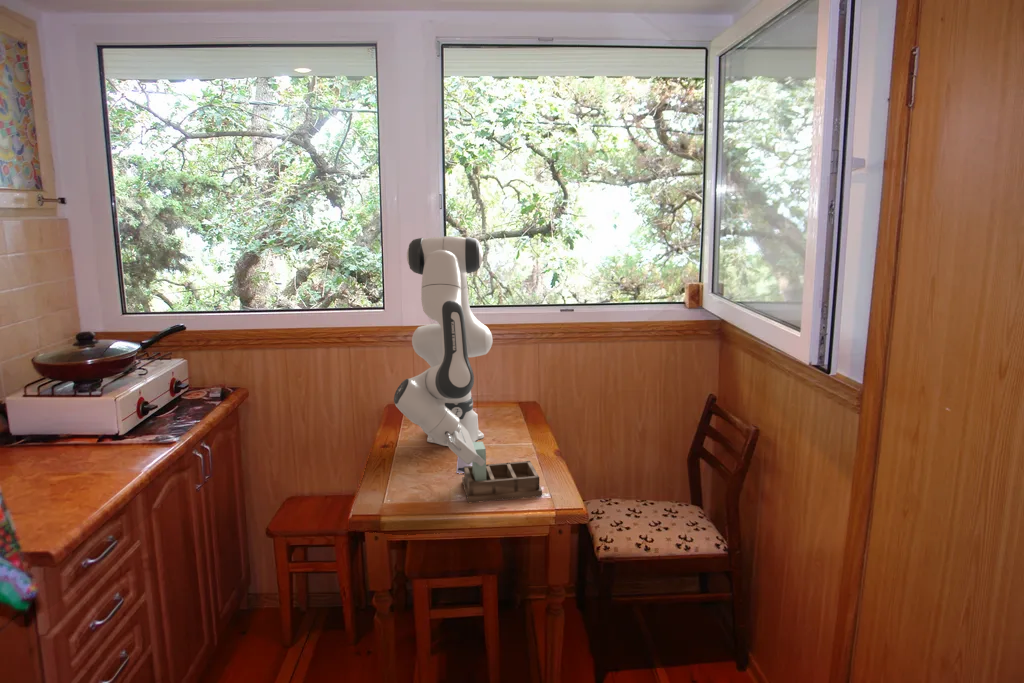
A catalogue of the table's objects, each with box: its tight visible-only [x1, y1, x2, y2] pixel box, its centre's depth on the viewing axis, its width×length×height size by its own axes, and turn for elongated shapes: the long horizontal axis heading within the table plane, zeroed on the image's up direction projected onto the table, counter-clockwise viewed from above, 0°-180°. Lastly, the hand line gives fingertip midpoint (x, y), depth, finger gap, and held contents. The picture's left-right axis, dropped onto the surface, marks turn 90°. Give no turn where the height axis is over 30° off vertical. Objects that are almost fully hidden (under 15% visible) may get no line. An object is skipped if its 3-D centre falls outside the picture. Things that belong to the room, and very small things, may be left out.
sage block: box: [472, 440, 487, 481], centre depth 195 cm, size 6×3×9 cm, turn 11°
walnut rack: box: [461, 460, 543, 503], centre depth 197 cm, size 14×20×5 cm
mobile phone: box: [456, 456, 472, 475], centre depth 216 cm, size 8×1×15 cm
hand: (481, 458), depth 195 cm, fingers closed on sage block, 6 cm apart
